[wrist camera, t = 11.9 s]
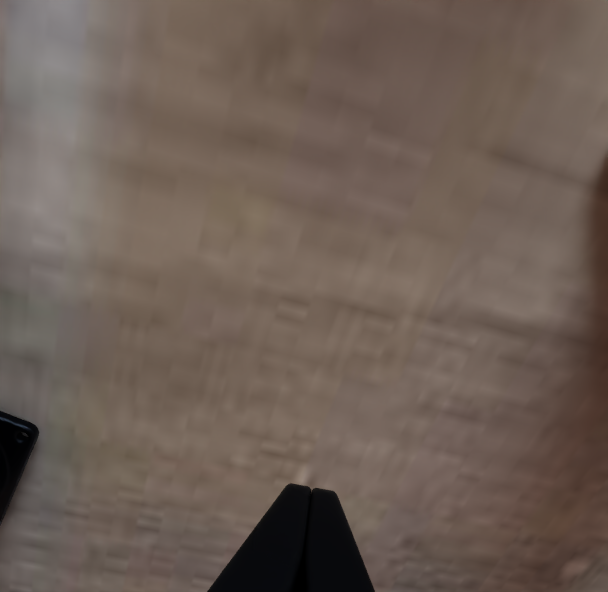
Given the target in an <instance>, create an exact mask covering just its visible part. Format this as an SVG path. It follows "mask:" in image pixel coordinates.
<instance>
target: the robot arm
mask: <svg viewBox="0 0 608 592" xmlns="http://www.w3.org/2000/svg"><path fill="white" fill-rule="evenodd" d="M21 432H24V433H26V434H27V435H28V437H27V436H24V435H22V433H21ZM38 436H39V430H38V428H37V427H36V426H35V425H34V424H32V423H30V422H28V421H25V420H22V419H20V418H17V417H14V416H12V415H9V414H7V413H4V412H1V411H0V525H1V523H2V520H3V518H4V516H5V513H6V511H7V509H8V506H9V504H10V502H11V499H12V497H13V495H14V492H15V490H16V488H17V485H18V483H19V481H20V478H21V476H22V474H23V471H24V469H25V466H26V464H27V462H28V459H29V457H30V455H31V452H32V450H33V448H34V445H35V443H36V441H37V438H38ZM207 592H375V591H374V588H373V585H372V583H371V580H370V578H369V575H368V573H367V570H366V568H365V565H364V562H363V560H362V557H361V555H360V552H359V550H358V547H357V545H356V542H355V539H354V537H353V534H352V532H351V529H350V527H349V524H348V521H347V519H346V516H345V514H344V511H343V509H342V506H341V504H340V501H339V498H338V496H337V494H336V493H335V492H334V491H331V490H325V489H320V488H314V489H313V490H312V492H311V489H310V487H308V486H303V485H297V484H291V483H290V484H288V485H287V486H286V487H285V488H284V490H283V491H282V492H281V494H280V495H279V496H278V498H277V499H276V500H275V502H274V503H273V504H272V506H271V507H270V508H269V510H268V511H267V512H266V514H265V515H264V516H263V518H262V519H261V520H260V522H259V523H258V524H257V526H256V527H255V528H254V530H253V531H252V532H251V534H250V535H249V536H248V538H247V539H246V540H245V542H244V543H243V544H242V546H241V547H240V548H239V550H238V551H237V552H236V554H235V555H234V556H233V558H232V559H231V560H230V562H229V563H228V564H227V566H226V567H225V568H224V570H223V571H222V573H221V574H220V575H219V577H218V578H217V579H216V581H215V582H214V583H213V585H212V586H211V587H210V589H209V590H208V591H207Z"/></svg>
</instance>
